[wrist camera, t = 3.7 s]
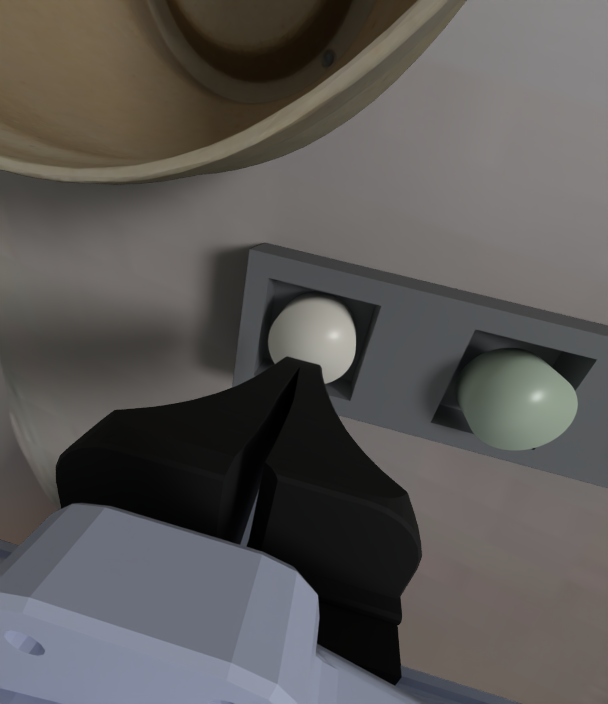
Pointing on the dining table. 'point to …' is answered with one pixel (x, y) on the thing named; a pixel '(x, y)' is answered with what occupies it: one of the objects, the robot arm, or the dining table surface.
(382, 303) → the button panel
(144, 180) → the planter bowl
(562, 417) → the sage button
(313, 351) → the cream button
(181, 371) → the dining table surface
